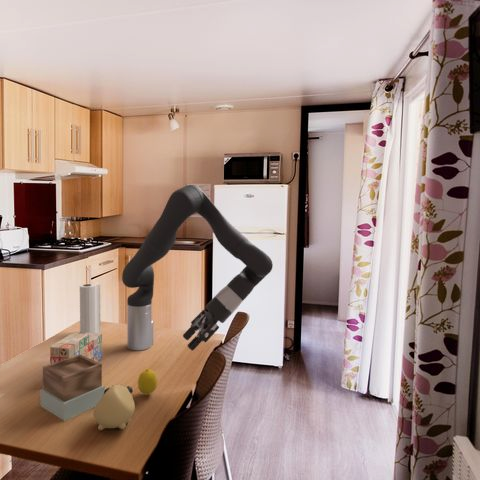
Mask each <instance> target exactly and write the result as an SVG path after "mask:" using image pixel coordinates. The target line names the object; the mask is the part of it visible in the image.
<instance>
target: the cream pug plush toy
mask: <svg viewBox="0 0 480 480" xmlns="http://www.w3.org/2000/svg"><path fill="white" fill-rule="evenodd" d="M133 391H134V390H133V388H132V386H129V385H128V386H127V385H122V384H113V385H111V386H110V387H107V388H105V391H104V395H103V396H102V398H101V399H100V400H99V402H98V403H97V405H96V406H95V407H93V408H94V409H93V412H92V413H93V417H94V419H95V421H96V423H97V424H98V425H97V429H98V430H99V431H103V430H104V429H115V428H116V429H117V428H118V429H121V430H124V429H125V428H126V427H127V425H126V424H128V423H129V421H130V420H131V418H132V417H133V415H134V413H135V408H136V405H135V400H134V399H133V396H134V393H133Z"/></svg>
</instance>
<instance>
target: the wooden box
mask: <svg viewBox="0 0 480 480" xmlns="http://www.w3.org/2000/svg"><path fill="white" fill-rule="evenodd" d="M102 366H103V364H102V363H100V362H99V361H98V362H96V361H94V360H91V359H89V358H87V357H85V356H83V355H81V354H79V355H76V356H73V357H70V358H67V359H64V360H61V361H58V362H55V363H52V364H50V363H49V364H46V365H43V366H42V382H43V383H42V385H43V387H42V389H44V390H46V391H48V392H49V393H51V394H52V395H54V396H56V397H57V398H59V399H60V400H62V401H64V402H66V401H68V400H70V399H73V398H75V397H78V396H80V395H82V394H85V393H87V392H89V391H92V390H94V389H96V388H99V387H101V386H102V385H103V380H102V379H103V374H102V372H103V371H102V369H103V367H102Z"/></svg>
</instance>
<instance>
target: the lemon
mask: <svg viewBox="0 0 480 480" xmlns="http://www.w3.org/2000/svg"><path fill="white" fill-rule="evenodd" d="M157 385H158V377H157V374H156V372H155V371H153V369H149V368H146V369H144V370H143V371H142V372H140V374H139V377H138V380H137V386H138V387H137V388H138V390H139V392H140V393H142V394H144V395H146V396H149V395H150V394H152V393H153V392H154V391H155V390H156V389H157Z"/></svg>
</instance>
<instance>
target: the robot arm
mask: <svg viewBox="0 0 480 480" xmlns="http://www.w3.org/2000/svg"><path fill="white" fill-rule="evenodd" d="M195 214H197V215H199V216H201V217H202V218H203V219H204V220H206V222H207V223H208V225H209V226H210V228H211V229H212V232H213V234H214V236H215V238H216V240H217V241H218V243H219V244H220V245H221V246H222V248H224V249H225V250H226V251H227V252H228V253H229V254H230V255H232V257H234V258H236V259H237V260H239V261H240V262H242V263H243V264H244V266H245V267H244V268H243V269H242V270H241V271H240V273H239V274H237V275H235V276H234V277H232V279H231V280H230V281H229V282H228V283H227V285H226V286H224V287H223V288H222V289H221V290H220V291H218V293H216V295H214V297H213V298H212V299H211V300H209V302H208V303H207V304H206V305H205V308H206V309H207V311H206V310H205V309H203V310H201V312H199V314H197V315H196V317H194V318H193V319H192V320H191V322H190V327H189V328H188V329H187V330H186V331H185V332H184V333H183V334H182V337H183V339H185V340H186V341H189V340H190V339H191V338H192V337H193V336H194V335H195V333H196V332H198V333H197V335H195V336H194V337H193V339H191V340H190V342H188V344H187V348H188V349H189V350H191V351H194V350H195V349H196V348H197V347H198V346H199V345H200V344H201V343H203V342H204V343H207V342H208V341H209V340H210V339H211V338H212V337H213V335H214V334H215V333H216V332H217V331H218V330H219V328H220V326H219V325H218V324H217V323H218V322H220V323H221V324H223V323H225V322H226V321H227V320H228V319H229V318H230V316H231V315H233V313H234V312H235V311H236V310H237V309H238V308H239V306H240V305H241V304H242V303H243V301H245V300H246V298H247V297H249V295H250V294H251V293H252V291H253V290H254V288H255V287H256V286H257V285H258V284H260V283H261V282H262V280H264V279H265V278H266V276H267V275H269V274H270V273H271V272H272V270H273V261H272V259H271V257H270V256H269V255H268V254H267V253H266V252H265V251H263V250H262V249H261V248H259V247H258V246H256V245H255V244H253V242H251V241H250V240H249V239H248V238H247V237H245V236H244V235H243V234H242V233H241V232H240V231H239V230H238V229H236V227H235V226H234V225H232V224H231V223H230V221H228V220H227V219H226V217H225V216H224V215H223V213H222V212H221V211H220V209H218V207H216V205H215V204H214V203H213V202H212V200H211V199H210V198H209V197H208V195H207V194H206V193H205V192H204V191H203V190H202V189H201V188H200V187H199V186H197V185H196V184H195V185H194V184H188V185H185V186H182V187H181V188H179V189H177V190H174V192H172V193H171V195H170V196H169V198H168V200H167V202H166V204H165V207H164V209H163V210H162V213H161V215H160V217H159V218H158V219H157V220H156V223H154V226H153V227H152V228H151V229H150V231H149V232H148V234H147V236H146V238H145V240H144V241H143V243H142V244H141V246H140V247H139V249H138V250H137V252H136V253H135V254H134V255H133V256H132V258H131V259H130V260H129V262H127V264H125V266H124V268H123V271H122V275H121V278H122V279H121V280H122V283H123V285H124V286H125V287H126V288H130V289H135V288H137V290H136V291H134V292H132V294H129V296H128V297H127V301H126V302H127V303H126V306H127V309H126V311H127V312H126V313H127V314H126V315H127V316H126V317H127V318H126V319H127V320H126V322H127V323H126V324H127V325H126V326H127V329H126V330H127V334H126V335H127V341H126V342H127V349H128V350H131V351H144V350H148V349H149V348H152V346H153V345H154V320H152V319H153V318H152V317H153V316H152V313H153V312H152V309H153V308H152V307H153V304H152V302H153V296H154V285H155V283H154V282H155V273H154V272H155V271H154V267H153V264H155V263H156V262H159V261H160V260H161V259H163V258H164V257H166V256H167V255H168V253H169V251H170V250H171V249H172V247H173V246H174V245H175V242H176V238H177V232H178V230H179V228H181V226H182V225H183V223H184V222H185V221H186V220H188V219H189V218H191V216H193V215H195Z"/></svg>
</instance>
